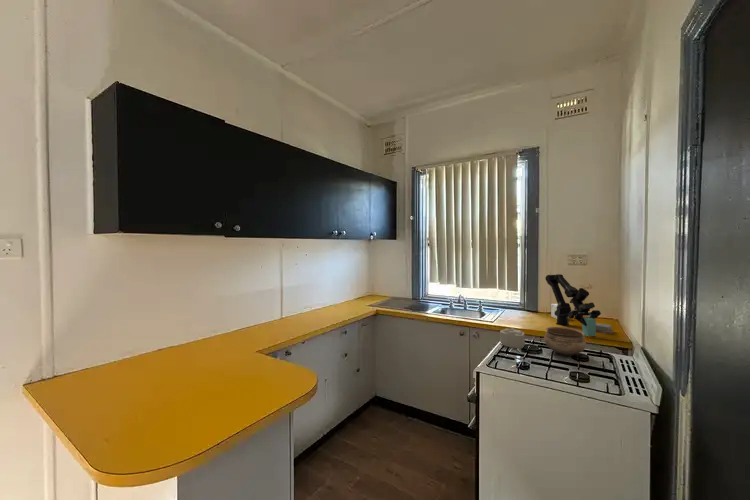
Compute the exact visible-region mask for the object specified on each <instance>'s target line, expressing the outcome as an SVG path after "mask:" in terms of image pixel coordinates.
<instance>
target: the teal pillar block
mask: <svg viewBox="0 0 750 500" xmlns="http://www.w3.org/2000/svg"><path fill="white" fill-rule="evenodd" d="M583 318H584V320H585V322H586V324H587V326H585V325H583V324H582V323H581V324H582V325H581V328H582V330H581V331H582V332H584V335H583V336H585V335H586V337H587V336H597V335H596V334H597V332H596V323H597V322H596V320H597V318H595V319H593V318H590V317H588V316H586V317H584V316H583Z"/></svg>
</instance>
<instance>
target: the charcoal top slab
mask: <svg viewBox="0 0 750 500" xmlns="http://www.w3.org/2000/svg"><path fill="white" fill-rule="evenodd" d="M596 329H598V330H603V331H609V330H611V329H612V325H611V324H607V323H605V324H604V323H600V322H596Z"/></svg>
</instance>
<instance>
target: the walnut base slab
mask: <svg viewBox="0 0 750 500" xmlns="http://www.w3.org/2000/svg"><path fill="white" fill-rule="evenodd" d="M613 333H614V328H611V330H609V331H603V330H598V329H596V334H602V335H611V334H613Z"/></svg>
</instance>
